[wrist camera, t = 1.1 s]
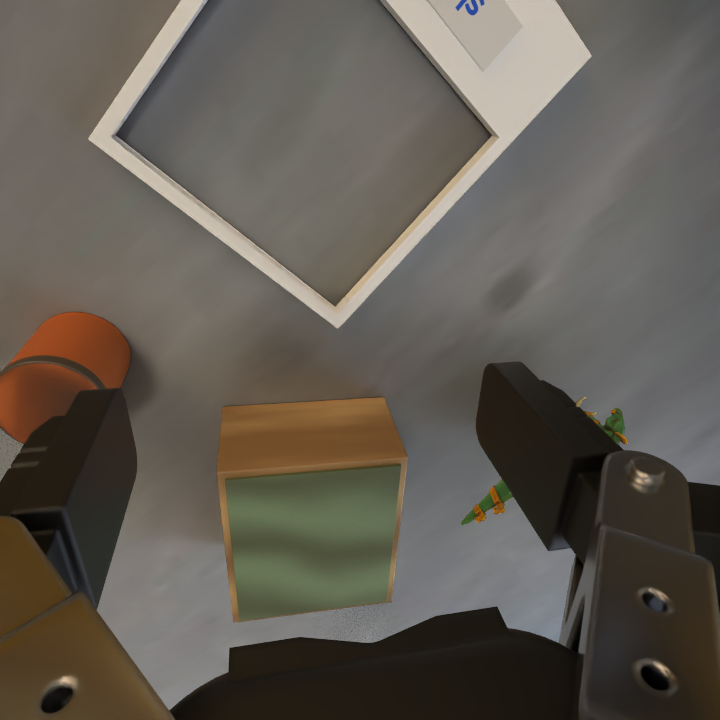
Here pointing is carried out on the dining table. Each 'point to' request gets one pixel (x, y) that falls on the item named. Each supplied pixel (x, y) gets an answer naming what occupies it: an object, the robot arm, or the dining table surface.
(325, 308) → the photo frame
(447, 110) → the dining table surface
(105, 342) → the orange tin
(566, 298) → the dining table surface
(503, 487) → the figurine
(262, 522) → the riser block
